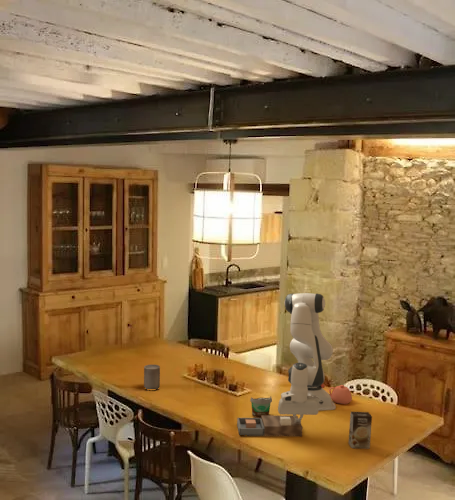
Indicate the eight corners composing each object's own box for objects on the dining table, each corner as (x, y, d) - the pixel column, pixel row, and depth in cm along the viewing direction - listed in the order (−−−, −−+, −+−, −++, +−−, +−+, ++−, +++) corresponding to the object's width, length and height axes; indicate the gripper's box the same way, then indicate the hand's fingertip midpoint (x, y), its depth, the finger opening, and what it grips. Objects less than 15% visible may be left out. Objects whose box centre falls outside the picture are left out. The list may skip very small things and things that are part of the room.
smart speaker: (161, 386, 369) (161, 362, 368) (157, 391, 359) (158, 367, 358) (145, 385, 370) (146, 362, 369) (142, 390, 360) (142, 366, 359)
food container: (253, 419, 319) (253, 401, 318) (249, 415, 325) (250, 397, 324) (274, 417, 322) (275, 399, 321) (270, 413, 328) (271, 395, 327)
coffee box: (351, 448, 285) (353, 416, 284) (348, 443, 291) (349, 411, 290) (370, 448, 285) (372, 416, 284) (366, 443, 292) (368, 411, 290)
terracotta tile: (245, 419, 309) (245, 424, 309) (246, 423, 304) (246, 427, 304) (254, 419, 309) (254, 424, 310) (256, 423, 304) (255, 427, 305)
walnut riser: (296, 425, 313) (297, 415, 312) (302, 436, 298) (302, 426, 297) (260, 424, 312) (261, 415, 311) (264, 436, 297) (264, 426, 296)
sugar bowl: (351, 406, 344) (352, 389, 343) (327, 404, 347) (328, 387, 346) (351, 399, 356) (352, 382, 355) (328, 397, 359) (328, 380, 358)
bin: (260, 424, 312) (261, 417, 311) (264, 436, 297) (264, 429, 296) (237, 424, 311) (237, 417, 310) (239, 435, 296) (239, 428, 296)
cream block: (289, 421, 303) (289, 416, 303) (291, 425, 298) (291, 420, 298) (279, 421, 303) (279, 416, 303) (281, 425, 298) (281, 420, 298)
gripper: (317, 394, 304) (316, 420, 305) (278, 393, 302) (277, 419, 303) (320, 398, 297) (319, 425, 299) (279, 397, 296) (278, 424, 297)
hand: (297, 422), depth 301 cm, fingers closed
